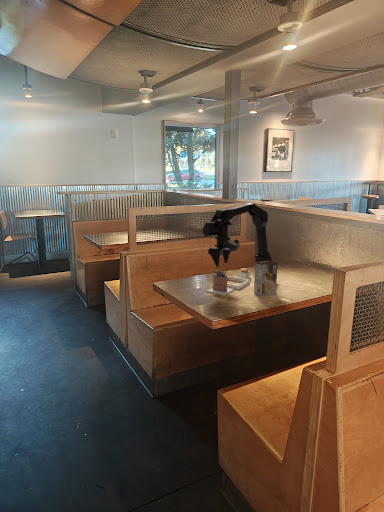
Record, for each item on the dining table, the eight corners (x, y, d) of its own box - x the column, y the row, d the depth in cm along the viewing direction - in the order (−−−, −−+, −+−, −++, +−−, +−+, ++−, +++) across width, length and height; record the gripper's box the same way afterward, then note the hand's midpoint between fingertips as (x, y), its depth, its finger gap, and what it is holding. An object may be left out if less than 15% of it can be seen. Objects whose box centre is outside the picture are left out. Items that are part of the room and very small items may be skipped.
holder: (255, 279, 203) (256, 272, 202) (238, 289, 185) (239, 281, 184) (233, 275, 210) (234, 268, 209) (215, 285, 192) (215, 277, 191)
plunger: (249, 276, 204) (249, 269, 203) (246, 278, 200) (246, 270, 199) (242, 275, 206) (242, 267, 205) (238, 277, 202) (239, 269, 201)
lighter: (228, 290, 181) (229, 271, 178) (224, 292, 178) (225, 273, 176) (214, 287, 185) (215, 268, 183) (211, 289, 183) (211, 270, 180)
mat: (233, 290, 184) (233, 289, 184) (224, 295, 176) (224, 294, 175) (216, 286, 189) (216, 285, 189) (206, 291, 181) (206, 290, 181)
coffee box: (267, 290, 184) (269, 259, 181) (276, 294, 179) (278, 262, 175) (253, 293, 180) (254, 261, 176) (261, 296, 174) (263, 264, 171)
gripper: (228, 239, 168) (227, 271, 171) (245, 233, 183) (244, 263, 187) (207, 236, 173) (207, 268, 177) (225, 231, 189) (224, 260, 192)
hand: (221, 264), depth 183 cm, fingers open, 9 cm apart
